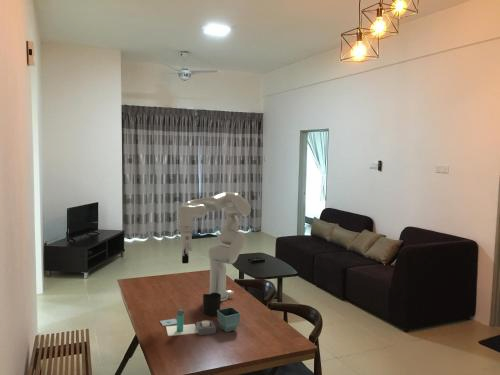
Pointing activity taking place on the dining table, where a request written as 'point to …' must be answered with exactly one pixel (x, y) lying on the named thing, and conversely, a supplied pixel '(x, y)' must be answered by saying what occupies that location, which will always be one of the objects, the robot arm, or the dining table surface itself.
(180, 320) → the marker
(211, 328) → the button box
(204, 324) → the cream ball
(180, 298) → the dining table surface
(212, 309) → the pen holder
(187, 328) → the paper
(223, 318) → the flower pot
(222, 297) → the robot arm
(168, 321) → the card
